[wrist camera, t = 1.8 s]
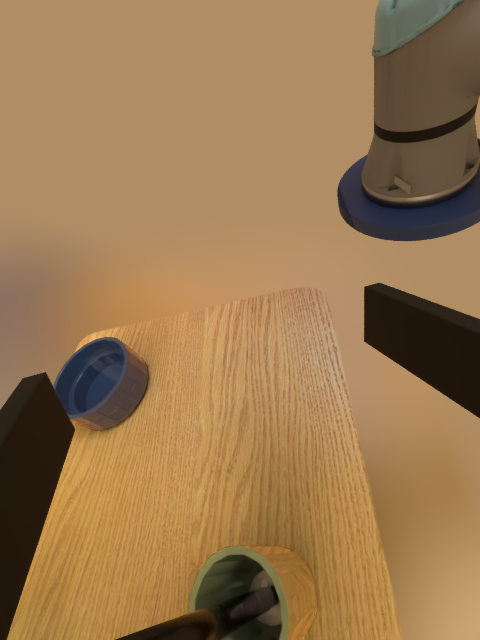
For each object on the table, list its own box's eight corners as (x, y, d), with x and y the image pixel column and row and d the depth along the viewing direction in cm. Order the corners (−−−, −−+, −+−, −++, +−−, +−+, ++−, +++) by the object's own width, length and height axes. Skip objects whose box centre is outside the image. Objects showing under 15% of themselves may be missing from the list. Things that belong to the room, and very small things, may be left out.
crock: (311, 545, 24) (282, 545, 17) (323, 646, 21) (295, 701, 14) (245, 547, 26) (192, 547, 18) (247, 641, 23) (183, 688, 15)
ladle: (295, 567, 23) (64, 625, 6) (300, 621, 22) (-9, 930, 4) (258, 567, 24) (-42, 618, 7) (260, 619, 22) (-143, 872, 5)
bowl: (156, 348, 43) (135, 329, 39) (142, 425, 36) (115, 411, 33) (94, 362, 46) (68, 345, 42) (70, 435, 39) (38, 424, 35)
